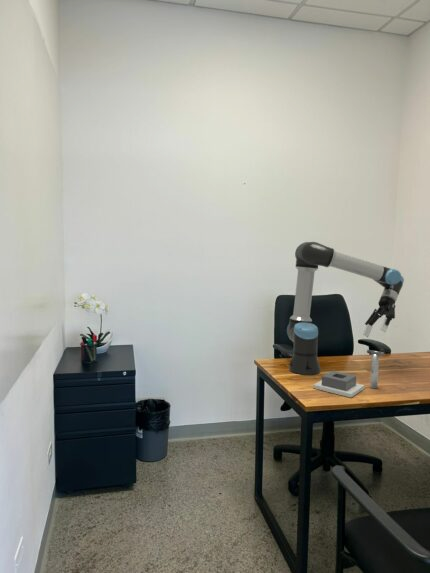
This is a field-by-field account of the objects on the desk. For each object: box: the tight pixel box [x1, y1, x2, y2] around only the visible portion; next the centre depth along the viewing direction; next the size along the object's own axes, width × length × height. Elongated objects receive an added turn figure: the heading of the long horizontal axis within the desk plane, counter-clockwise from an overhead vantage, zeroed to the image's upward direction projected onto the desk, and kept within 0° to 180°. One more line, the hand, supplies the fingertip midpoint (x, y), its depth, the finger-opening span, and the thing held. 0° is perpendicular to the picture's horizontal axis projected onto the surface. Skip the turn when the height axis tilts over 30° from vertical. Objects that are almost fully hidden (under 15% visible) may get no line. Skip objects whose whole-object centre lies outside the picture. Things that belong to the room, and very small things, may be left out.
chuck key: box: [366, 349, 386, 389], centre depth 177 cm, size 8×3×16 cm, turn 50°
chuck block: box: [312, 370, 366, 398], centre depth 176 cm, size 17×15×6 cm
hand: (374, 333), depth 200 cm, fingers open, 13 cm apart
